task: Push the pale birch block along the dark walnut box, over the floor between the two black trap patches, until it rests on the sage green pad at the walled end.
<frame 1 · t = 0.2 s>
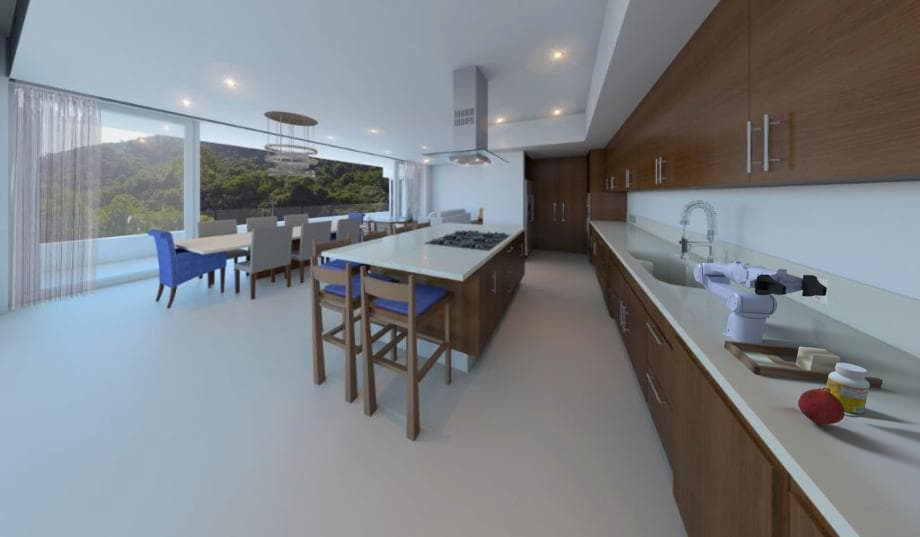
hand: (804, 291, 77), 21 cm above the countertop, tool horizontal, fingers open, 7 cm apart
supplement bottle: (841, 410, 66), on the countertop
onion: (816, 425, 62), on the countertop
trap box: (788, 368, 83), on the countertop
birch block: (815, 370, 79), point 1 cm above the countertop, touching trap box
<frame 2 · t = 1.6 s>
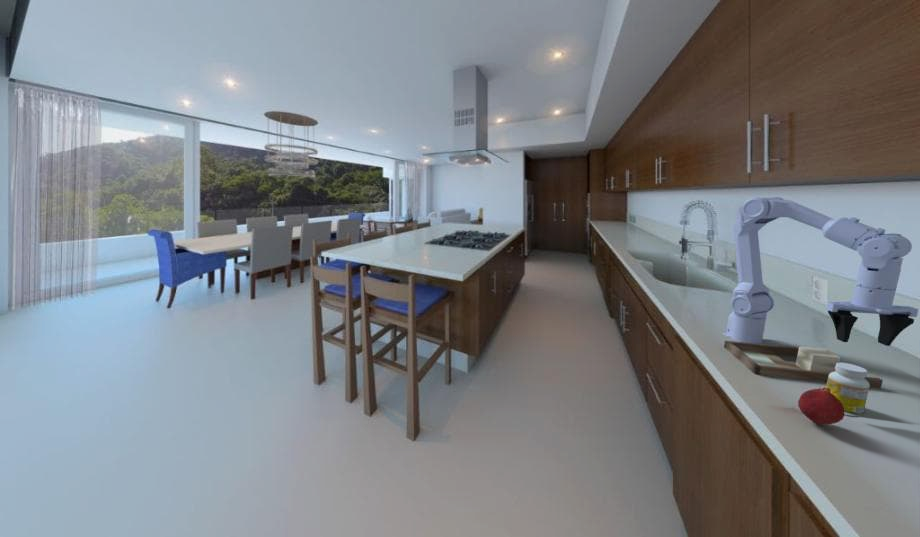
hand: (862, 342, 76), 9 cm above the countertop, tool pointing down, fingers open, 7 cm apart
nothing on the countertop moved.
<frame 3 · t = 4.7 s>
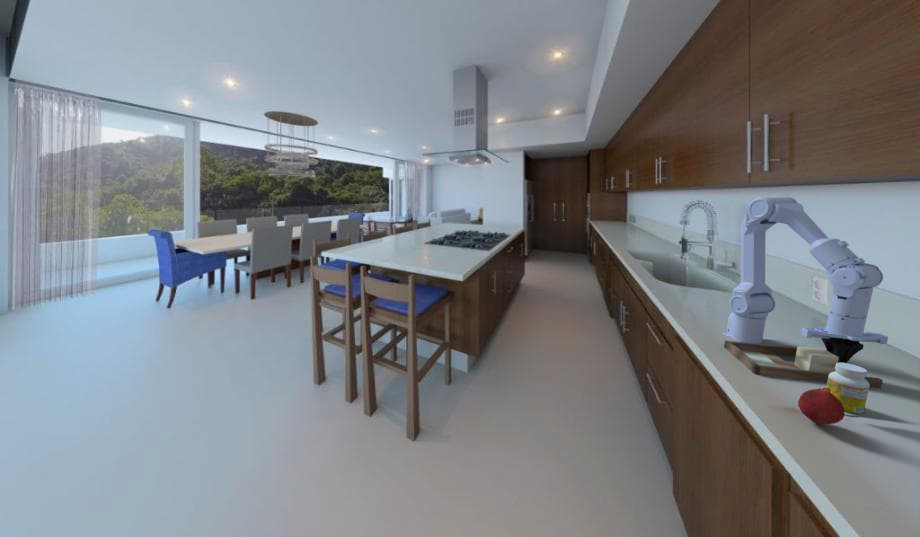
hand: (835, 367, 78), 2 cm above the countertop, tool pointing down, fingers closed
birch block: (813, 370, 79), point 1 cm above the countertop, touching gripper
everything else where it was.
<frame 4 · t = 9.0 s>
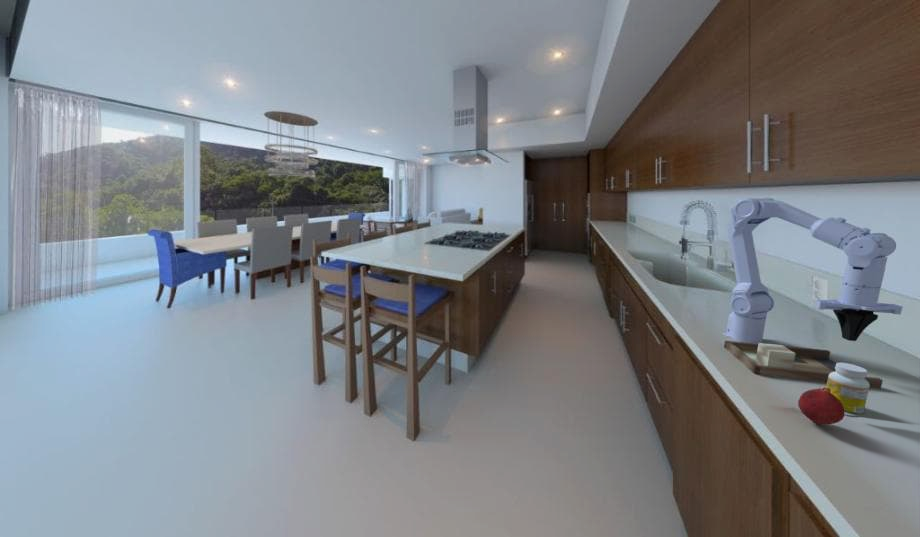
hand: (848, 339, 77), 9 cm above the countertop, tool pointing down, fingers closed
birch block: (773, 366, 82), point 1 cm above the countertop, touching trap box
everything else where it was.
at the end: birch block inside the target area (2.1 cm from its centre), point 1.0 cm above the countertop; birch block moved 8.5 cm from its start; birch block tilted 0° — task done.
